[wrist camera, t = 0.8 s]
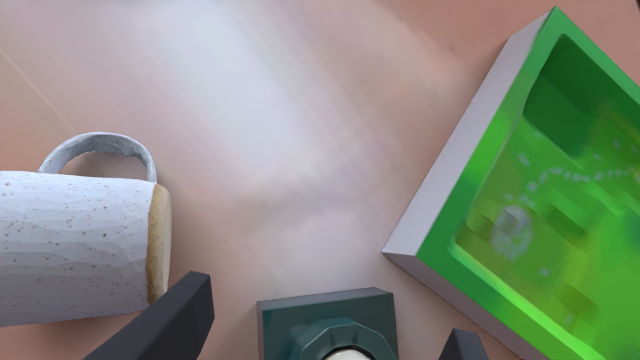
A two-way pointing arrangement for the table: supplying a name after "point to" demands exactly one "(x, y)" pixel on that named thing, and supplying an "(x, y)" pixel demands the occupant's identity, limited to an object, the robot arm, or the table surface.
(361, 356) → the white push button
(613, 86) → the tray
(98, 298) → the ceramic mug
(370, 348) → the dark green button base
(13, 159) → the table surface
